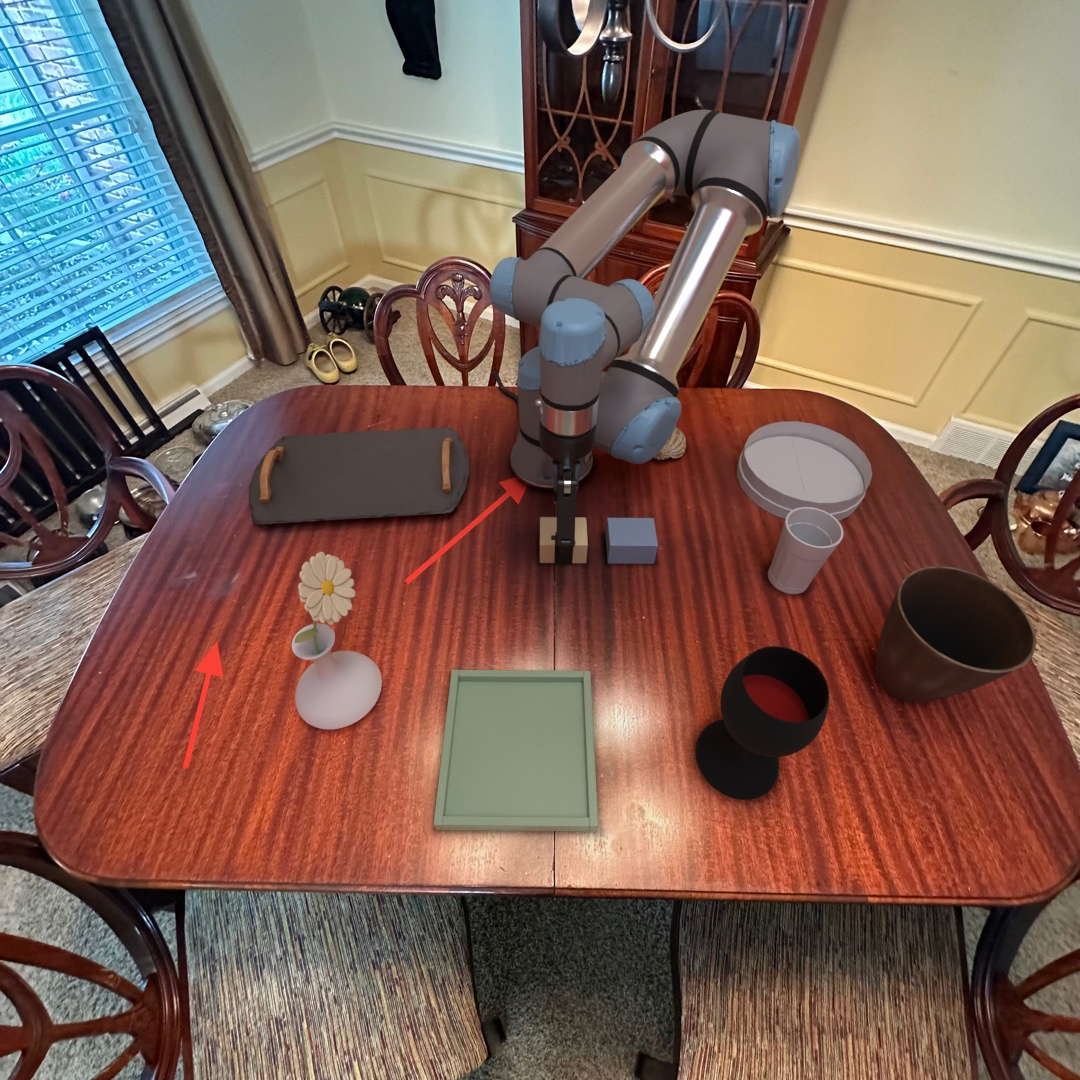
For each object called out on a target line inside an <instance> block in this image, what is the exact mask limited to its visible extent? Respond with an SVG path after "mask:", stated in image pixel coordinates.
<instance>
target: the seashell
mask: <svg viewBox="0 0 1080 1080" xmlns="http://www.w3.org/2000/svg"><path fill="white" fill-rule="evenodd" d="M686 440H687V439H686V436H685V434H684V432H683V431H682V430H681V429H679V426H676V428H675V429H674V431H673V433H672V435H671V437H670V438H669V440H668V441H667V443H666V444H665V445H664V447H663V448H662V449H661V450H660V451H659V453H658V454H657V455H656V456H654V457H653V458H652V459H653V460H656V461H664V460H666V459H669V458H672V459H679V458H681V457H683V456H684V454H685V452H686V448H687V441H686Z"/></svg>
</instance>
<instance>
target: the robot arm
mask: <svg viewBox="0 0 1080 1080" xmlns="http://www.w3.org/2000/svg"><path fill="white" fill-rule="evenodd" d="M800 153H801V135H800V132H799V131H798V129H797V128H796V127H795V126H793V125H790V124H785V123H782V122H778V121H777V120H775V119H772V120H771V121H769V120H763V119H757V118H753V117H746V116H741V115H736V114H730V113H724V112H719V111H715V110H710V109H695V110H690V111H686V112H683V113H679V114H677V115H675V116H672V117H670V118H668V119H666V120H664V121H661V122H660V123H657V125H654V126H653V127H651V128H650V129H649V130H647V131H646V132H645V133H643V134H642V135H641V136H640V137H638V138H637V139H636V140H635V141H634V142H632V144H631V145H630V146H629V147H628V148H627V149H626V151H624V154H623V155H622V158H621V161H620V165H619V167H617V169H616V170H615V171H614V172H613V173H612V174H611V175H610V176H609V177H608V178H607V179H606V180H605V181H604V182H603V183H602V184H601V185H600V186H599V187H598V188H597V189H596V190H595V191H594V192H593V193H592V194H591V195H590V196H589V197H588V198H587V199H586V200H585V201H584V202H583V203H582V204H581V205H580V206H579V207H578V208H577V210H575V211H574V212H573V214H571V215H570V216H569V217H568V218H567V219H566V220H565V222H564V223H563V224H562V225H560V226H559V228H557V230H556V231H554V232H553V234H552V235H551V236H550V237H549V238H548V239H547V240H546V241H545V242H543V244H542V245H541V246H540V247H539V248H538V249H537V250H536V251H535V252H534V253H533V254H532V255H531V256H530V257H528V259H524V258H523V257H521V256H519V257H514V256H507V257H504V258H503V259H501V260H499V262H498V263H497V264H496V265H495V267H494V269H493V272H492V273H491V277H490V281H489V296H490V302H491V304H492V305H493V307H494V308H495V310H497V311H498V312H500V313H502V314H503V315H505V316H507V317H510V318H512V319H514V320H515V321H518V322H519V321H520V322H523V323H527V324H529V325H532V326H535V327H538V328H540V330H539V337H538V345H537V346H536V347H534V348H532V349H529V351H527V352H526V353H525V354H524V355H522V357H521V358H520V360H519V362H518V366H517V379H516V386H517V394H516V393H514V392H512V391H510V390H509V389H507V388H506V387H505V386H504V384H503V382H502V379H501V377H500V374H499V373H498V372H496V371H494V372H493V373H492V374H491V376H492V377H493V378H495V382H496V384H497V386H498V387H499V389H500V390H501V391H502V392H503V393H504V394H505V395H506V396H509V397H510V398H512V399H514V401H516V403H517V414H518V426H519V427H518V428H519V430H518V433H517V436H516V439H515V443H514V445H512V449H511V452H510V469H511V471H512V474H513V475H514V477H515V479H517V481H519V482H520V483H521V484H523V486H526V487H528V488H530V489H533V490H536V491H539V492H540V491H541V492H547V493H553V502H554V503H556V517H557V532H555V535H551V540H555V554H554V563H553V565H554V566H573V563H572V561H573V547H574V546H575V517H576V513H577V512H576V511H577V509H576V508H577V492H578V491H579V486H580V485H581V484H583V483H584V482H585V481H586V480H587V479H588V478H589V476H590V474H591V473H592V470H593V460H594V459H593V451H592V450H593V449H594V448H595V449H596V450H599V451H602V452H604V453H606V454H608V455H611V456H612V457H613V458H615V459H617V460H623V461H625V462H628V463H631V464H634V465H643V464H646V463H648V462H649V461H651V460H652V459H653V457H654V456H656V455H657V454H658V453H659V451H660V450H661V449H662V448H663V447H664V445H665V444H666V443H667V441H668V440H669V438H670V437H671V435H672V433H673V431H674V429H675V428H676V427H677V425H678V421H679V419H680V417H681V414H682V411H683V410H682V409H683V406H682V402H681V400H679V398H678V395H679V393H680V386H679V383H678V380H677V376H678V374H679V372H680V369H681V368H682V366H683V363H684V361H685V359H686V357H687V355H688V354H689V351H690V349H691V347H692V345H693V343H694V341H695V339H696V337H697V335H698V332H699V331H700V329H701V327H702V325H703V323H704V321H705V319H706V317H707V315H708V313H709V311H710V309H711V307H712V305H713V303H714V301H715V299H716V297H717V295H718V293H719V291H720V289H721V286H722V284H723V282H724V281H725V278H726V277H727V275H728V273H729V270H730V268H731V267H732V265H733V262H734V260H735V258H736V256H737V254H738V252H739V251H740V248H741V246H742V245H743V242H744V240H745V238H746V237H750V236H752V235H754V234H756V233H758V232H759V231H760V230H761V228H762V226H763V224H764V222H765V220H766V218H767V217H768V218H769V219H773V218H774V219H775V218H778V217H780V216H781V215H782V214H783V212H784V211H785V209H786V207H787V204H788V202H789V199H790V196H791V193H792V190H793V187H794V183H795V180H796V176H797V172H798V167H799V162H800V156H801V155H800ZM672 196H684V197H689V198H691V199H690V203H691V204H690V205H691V208H692V210H693V213H694V214H693V215H692V218H691V219H690V222H689V224H688V226H687V228H686V231H685V232H684V235H683V237H682V238H681V241H680V243H679V244H678V247H677V249H676V251H675V253H674V255H673V257H672V260H671V261H670V263H669V266H668V267H667V270H666V272H665V274H664V276H663V277H662V280H661V282H660V284H659V286H658V288H657V290H656V292H655V294H654V297H653V296H652V293H651V292H650V290H649V289H648V288H647V287H646V286H645V285H644V284H643V283H642V282H640V281H638V280H636V279H631V278H625V279H621V280H617V281H615V282H614V283H611V284H610V285H609V286H606V285H603V284H601V283H597V282H593V281H592V280H591V281H590V280H587V278H588V277H589V276H590V275H591V274H592V273H593V272H594V271H595V269H597V267H598V266H599V265H600V264H601V263H602V262H603V261H604V260H605V259H606V257H608V256H609V254H610V253H611V252H612V251H613V250H614V249H615V247H617V246H618V245H619V243H621V241H622V240H623V239H624V238H625V237H626V236H627V235H628V233H629V232H631V230H632V229H633V228H634V227H635V226H636V225H637V224H638V223H639V222H640V220H641V219H643V218H644V216H645V215H646V214H647V213H648V212H649V211H650V210H651V208H653V207H656V206H660V205H663V204H664V203H666V202H667V201H668V200H669V199H670V198H671V197H672ZM627 349H628V350H627ZM625 351H627V352H626V353H625V354H623V353H624V352H625ZM607 366H609V367H608V369H607V371H605V370H604V369H605V368H607ZM501 387H505V388H501Z"/></svg>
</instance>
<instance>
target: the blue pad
mask: <svg viewBox="0 0 1080 1080" xmlns="http://www.w3.org/2000/svg"><path fill="white" fill-rule="evenodd" d="M604 535H605V536H604V537H605V548H606V558H607V560H606V561H607V564H608V565H609V564H612V565H613V564H617V565H618V564H619V565H621V564H623V565H624V564H625V565H628V564H629V565H631V564H634V565H654V564H655V561H656V556H657V552H658V549H659V543H658V536H657V531H656V525H655V518H654V517H607V520H606V529H605V534H604Z"/></svg>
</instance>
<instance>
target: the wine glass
mask: <svg viewBox="0 0 1080 1080" xmlns="http://www.w3.org/2000/svg"><path fill="white" fill-rule="evenodd" d="M719 701H720V702H719V704H720V705H719V706H720V713H721V717H722V719H718V720H715V721H713V722H711V723H709V724H708V725H706V727H704V728H703V730H702V731H701V732H700V734H699V736H698V738H697V740H696V743H695V758H696V759H695V760H696V764H697V766H698V769H699V771H700V773H701V775H702V777H703V778H704V779H705V780H706V782H707V783H708V784H709V785H710V786H711V787H712V788H714V789H715V790H716V791H717V792H718V793H720V794H722V795H724V796H726V797H729V798H732V799H735V800H741V801H752V800H756V799H758V798H762V797H763V796H765V795H766V794H767V795H768V793H769V792H770V791H771V790H772V789H773V787H774V786H775V784H776V782H777V780H778V779H779V778H778V777H779V775H780V774H779V773H780V763H779V758H782V757H783V758H784V757H788V756H792V755H793V754H796V753H798V752H800V751H802V750H803V749H805V748H806V747H808V746H809V745H810V744H811V743H812V742H813V741H814V740H815V739H816V738H817V736H818V735H819V733H821V730H822V728H823V726H824V724H825V721H826V720H827V719H826V718H827V715H828V710H829V706H830V689H829V685H828V681H827V679H826V677H825V676H824V673H823V672H822V671H821V669H820V668H819V667H818V665H817V664H816V663H815V662H814V661H812V660H811V659H810V658H809V657H808V656H806V655H804V654H803V653H801V652H799V651H798V650H795V649H792V648H789V647H784V646H780V645H779V646H778V645H769V646H764V647H760V648H758V649H755V650H754V651H752V652H750V653H749V654H748V655H746V656H745V657H743V658H742V659H741V660H740V661H739V662H738V663H737V664H735V666H734V667H733V668H732V669H731V671H730V672H729V673H728V675H727V676H726V679H725V681H724V683H723V685H722V688H721V692H720V699H719Z"/></svg>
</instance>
